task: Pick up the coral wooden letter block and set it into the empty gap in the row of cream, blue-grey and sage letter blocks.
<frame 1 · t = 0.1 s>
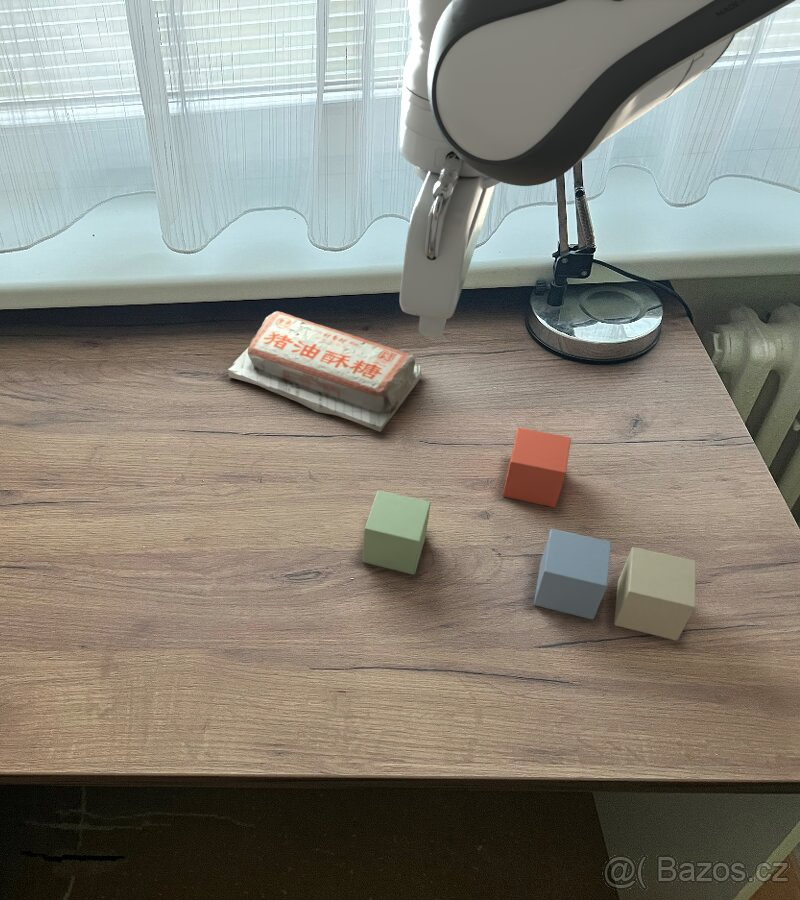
hand: (444, 295, 67), 20 cm above the table, tool pointing down, fingers open, 8 cm apart
coral block: (531, 484, 79), on the table
packaged product: (323, 379, 92), on the table
blue-grey block: (566, 590, 71), on the table
cream block: (646, 610, 69), on the table
sage block: (394, 548, 75), on the table
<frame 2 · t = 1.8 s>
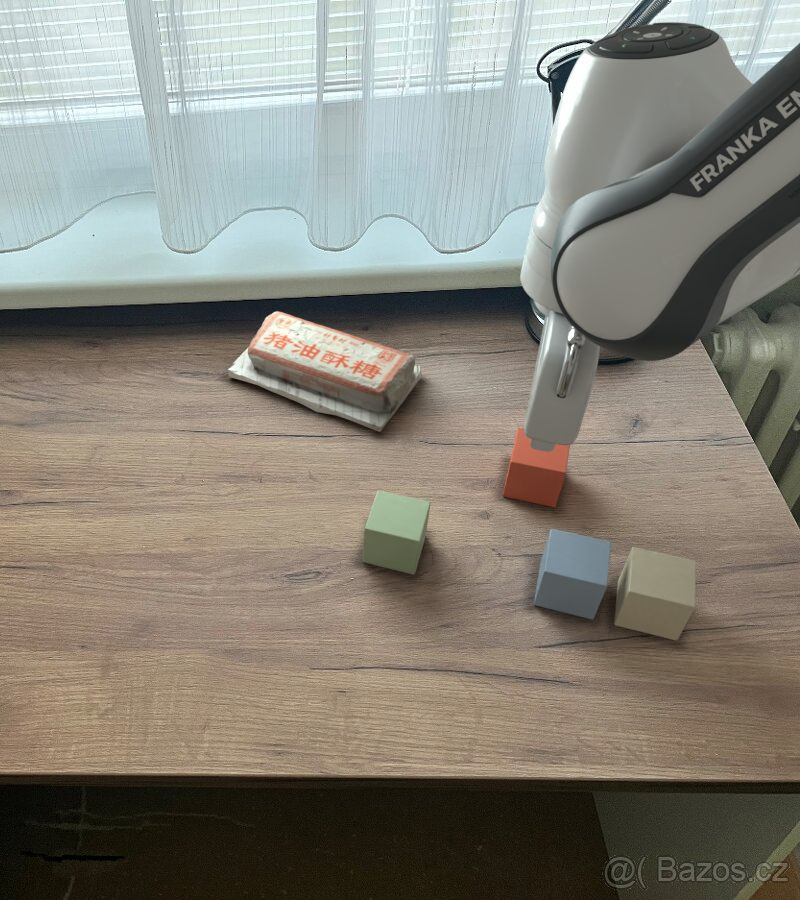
hand: (548, 406, 72), 10 cm above the table, tool pointing down, fingers open, 8 cm apart
nothing on the table moved.
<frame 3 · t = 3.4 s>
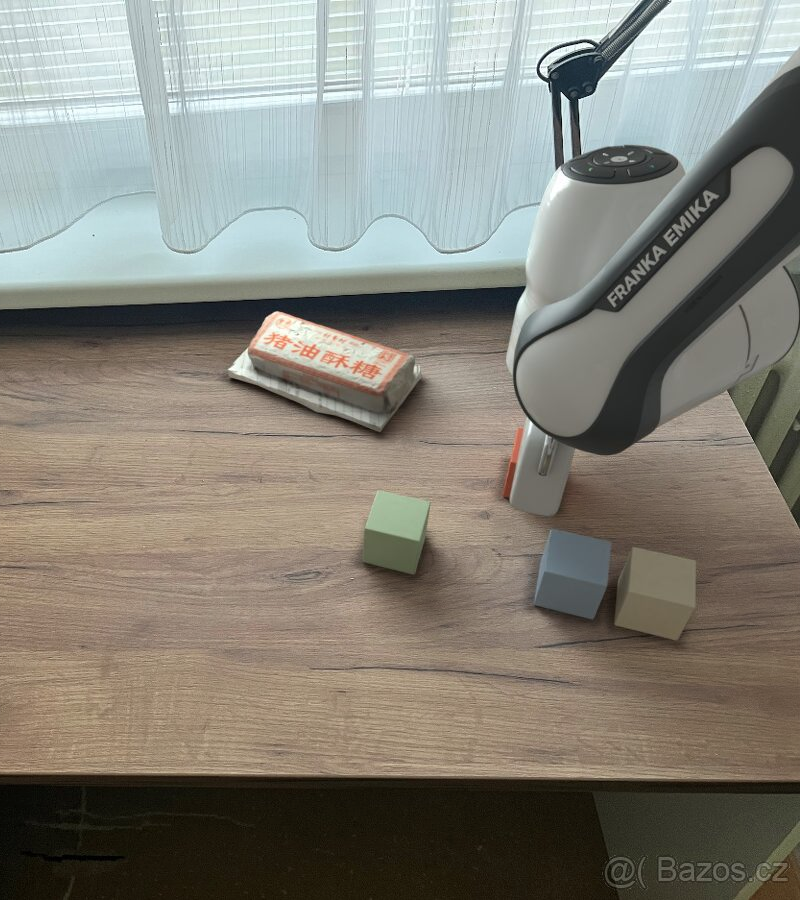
hand: (535, 471, 78), 2 cm above the table, tool pointing down, fingers closed on coral block, 4 cm apart
coral block: (531, 484, 79), on the table, touching gripper
everything else where it was.
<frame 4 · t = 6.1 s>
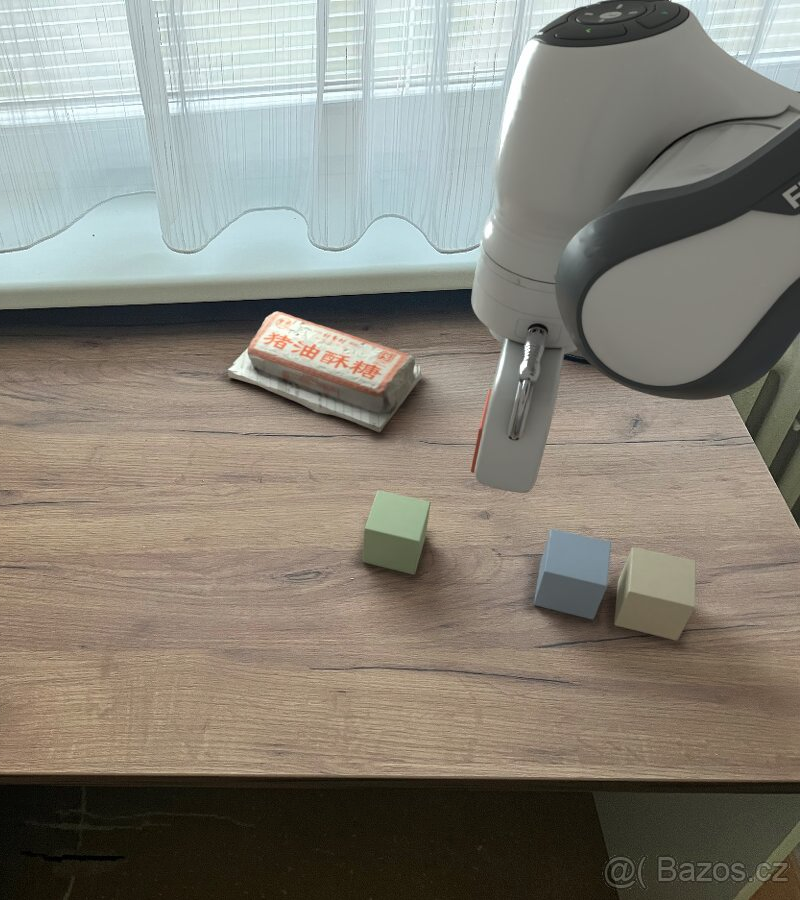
hand: (510, 441, 64), 14 cm above the table, tool pointing down, fingers closed on coral block, 4 cm apart
coral block: (506, 458, 65), point 12 cm above the table, touching gripper
everything else where it was.
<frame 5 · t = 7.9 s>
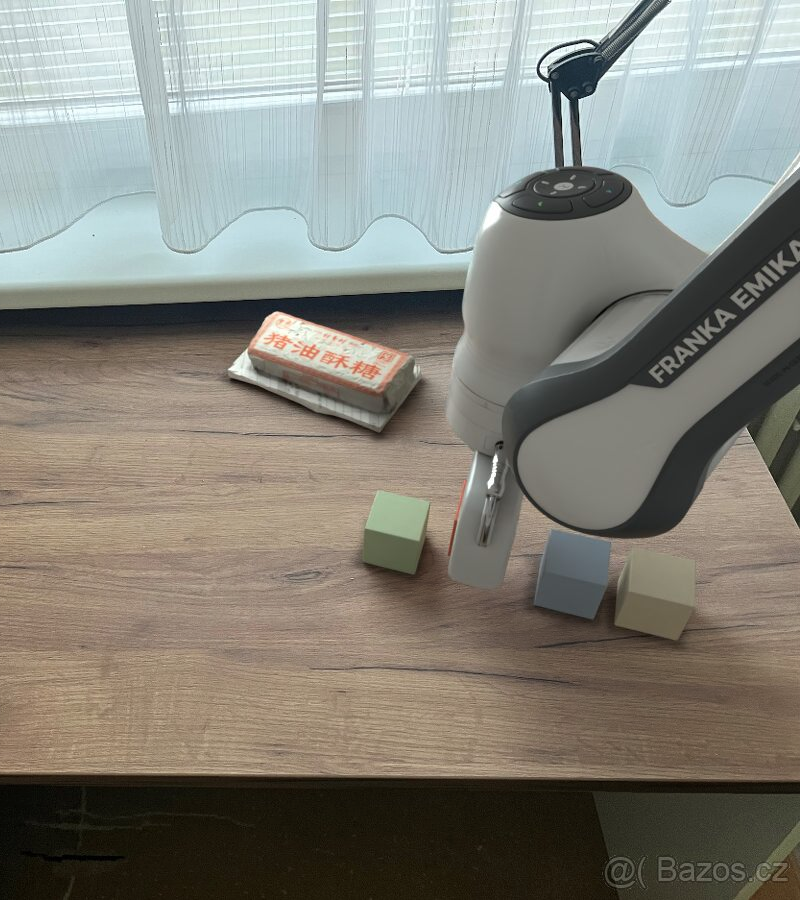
hand: (484, 528, 69), 5 cm above the table, tool pointing down, fingers closed on coral block, 4 cm apart
coral block: (480, 542, 71), point 4 cm above the table, touching gripper
everything else where it was.
when the fingers open (2 cm above the table, at t = 9.2 s): coral block stays where it is, on the table.
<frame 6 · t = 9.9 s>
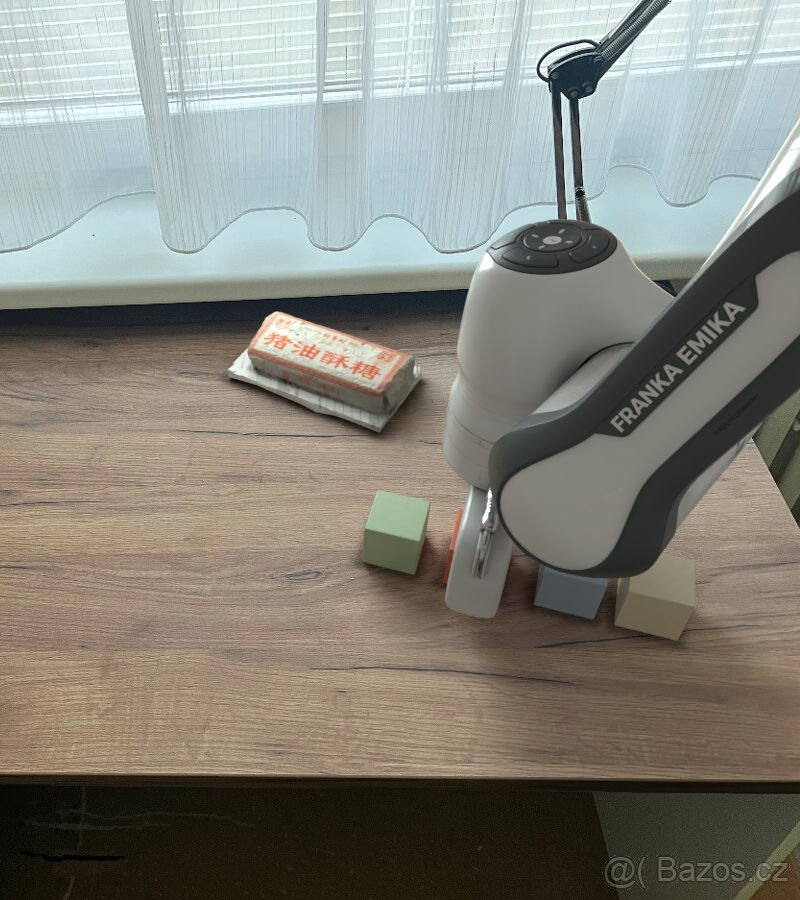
hand: (481, 555, 72), 2 cm above the table, tool pointing down, fingers open, 8 cm apart
coral block: (475, 569, 73), on the table
everything else where it was.
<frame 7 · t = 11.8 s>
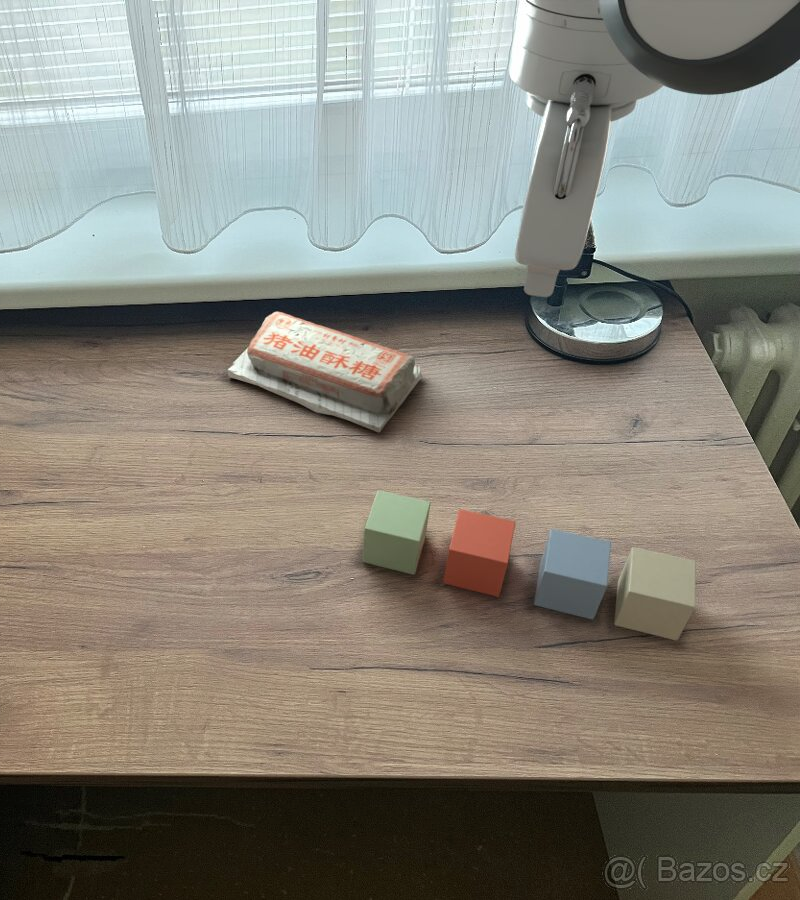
hand: (546, 251, 60), 26 cm above the table, tool pointing down, fingers open, 8 cm apart
nothing on the table moved.
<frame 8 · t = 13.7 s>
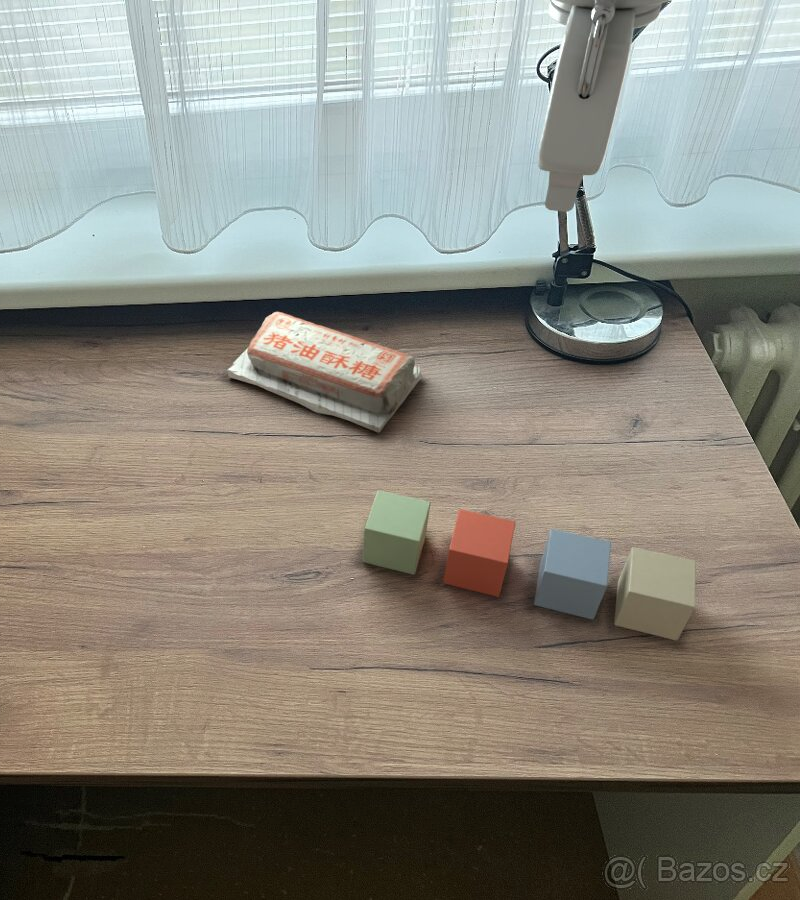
hand: (566, 171, 61), 29 cm above the table, tool pointing down, fingers open, 8 cm apart
nothing on the table moved.
at the end: coral block 0.2 cm from the target spot, on the table; coral block tilted 0°; sage block moved 0.0 cm from its start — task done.
